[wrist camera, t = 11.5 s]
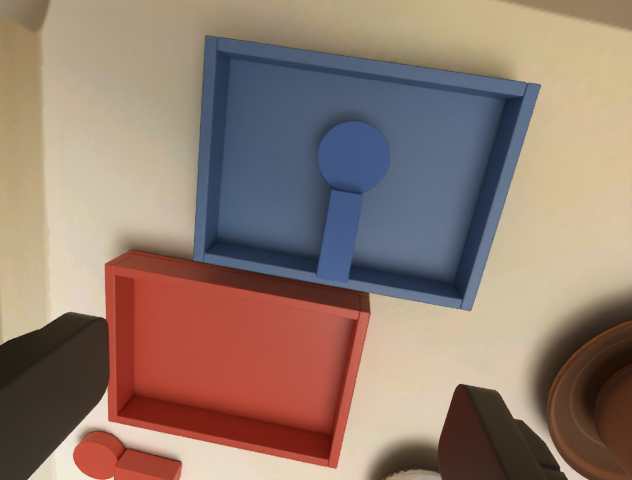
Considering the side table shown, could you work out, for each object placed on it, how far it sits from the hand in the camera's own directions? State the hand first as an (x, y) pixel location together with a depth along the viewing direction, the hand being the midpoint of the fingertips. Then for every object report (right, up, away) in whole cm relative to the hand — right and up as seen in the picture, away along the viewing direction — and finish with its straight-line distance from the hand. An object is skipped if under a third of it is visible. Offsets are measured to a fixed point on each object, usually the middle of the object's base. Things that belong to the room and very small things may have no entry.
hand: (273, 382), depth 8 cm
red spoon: (-13, -14, +20) cm, 28 cm away
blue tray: (+3, +7, +12) cm, 14 cm away
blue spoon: (+3, +5, +11) cm, 12 cm away
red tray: (-4, -4, +16) cm, 17 cm away
